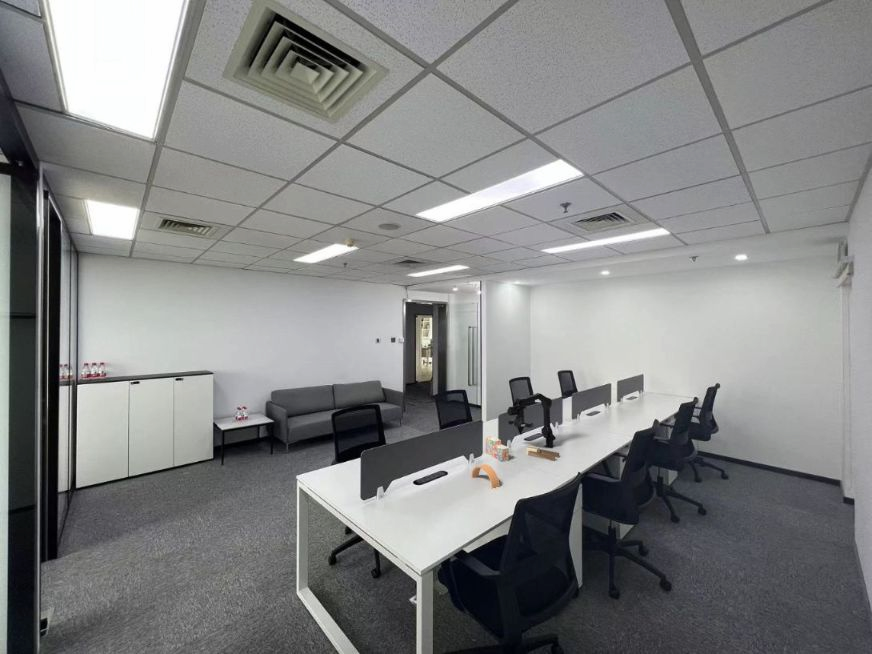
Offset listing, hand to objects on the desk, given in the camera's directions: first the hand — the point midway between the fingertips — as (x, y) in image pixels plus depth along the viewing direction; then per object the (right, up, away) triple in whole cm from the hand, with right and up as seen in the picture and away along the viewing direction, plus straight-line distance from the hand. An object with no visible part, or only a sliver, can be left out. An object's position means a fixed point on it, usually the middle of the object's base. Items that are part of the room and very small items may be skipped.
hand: (520, 434), depth 271 cm
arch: (-36, -13, -55) cm, 67 cm away
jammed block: (+8, -13, -6) cm, 16 cm away
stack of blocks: (-21, -13, -11) cm, 27 cm away
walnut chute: (+14, -13, -11) cm, 22 cm away
